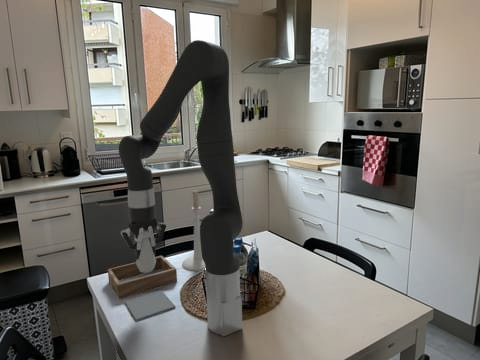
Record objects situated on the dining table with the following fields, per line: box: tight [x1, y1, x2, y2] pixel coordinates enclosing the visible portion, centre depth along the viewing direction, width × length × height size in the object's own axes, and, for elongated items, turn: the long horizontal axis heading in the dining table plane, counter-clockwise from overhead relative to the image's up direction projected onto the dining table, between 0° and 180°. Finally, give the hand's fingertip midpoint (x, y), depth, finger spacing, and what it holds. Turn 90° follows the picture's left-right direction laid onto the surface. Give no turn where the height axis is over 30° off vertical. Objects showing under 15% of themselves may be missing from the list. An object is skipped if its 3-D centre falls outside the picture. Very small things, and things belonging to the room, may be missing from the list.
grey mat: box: [124, 289, 176, 322], centre depth 108 cm, size 12×12×1 cm
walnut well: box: [107, 255, 178, 300], centre depth 122 cm, size 14×20×5 cm
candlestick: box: [182, 189, 205, 272], centre depth 134 cm, size 13×13×30 cm
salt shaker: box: [135, 230, 156, 274], centre depth 104 cm, size 6×6×13 cm
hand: (146, 258), depth 105 cm, fingers closed on salt shaker, 3 cm apart
